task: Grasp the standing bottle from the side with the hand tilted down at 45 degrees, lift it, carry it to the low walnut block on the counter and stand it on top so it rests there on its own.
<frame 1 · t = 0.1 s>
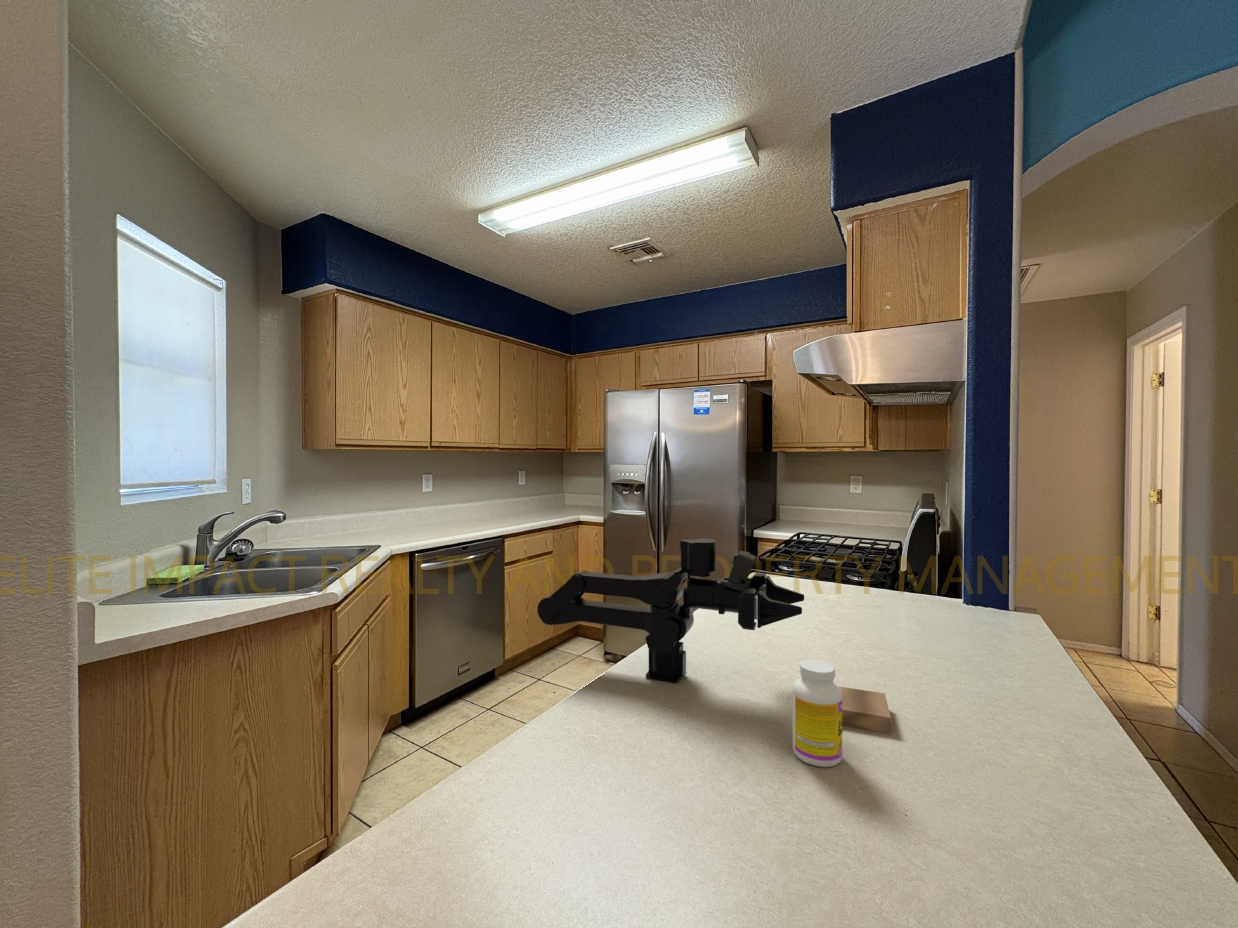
hand: (803, 603, 93), 17 cm above the countertop, tool horizontal, fingers open, 9 cm apart
supplement bottle: (817, 756, 75), on the countertop
walnut block: (857, 715, 86), on the countertop
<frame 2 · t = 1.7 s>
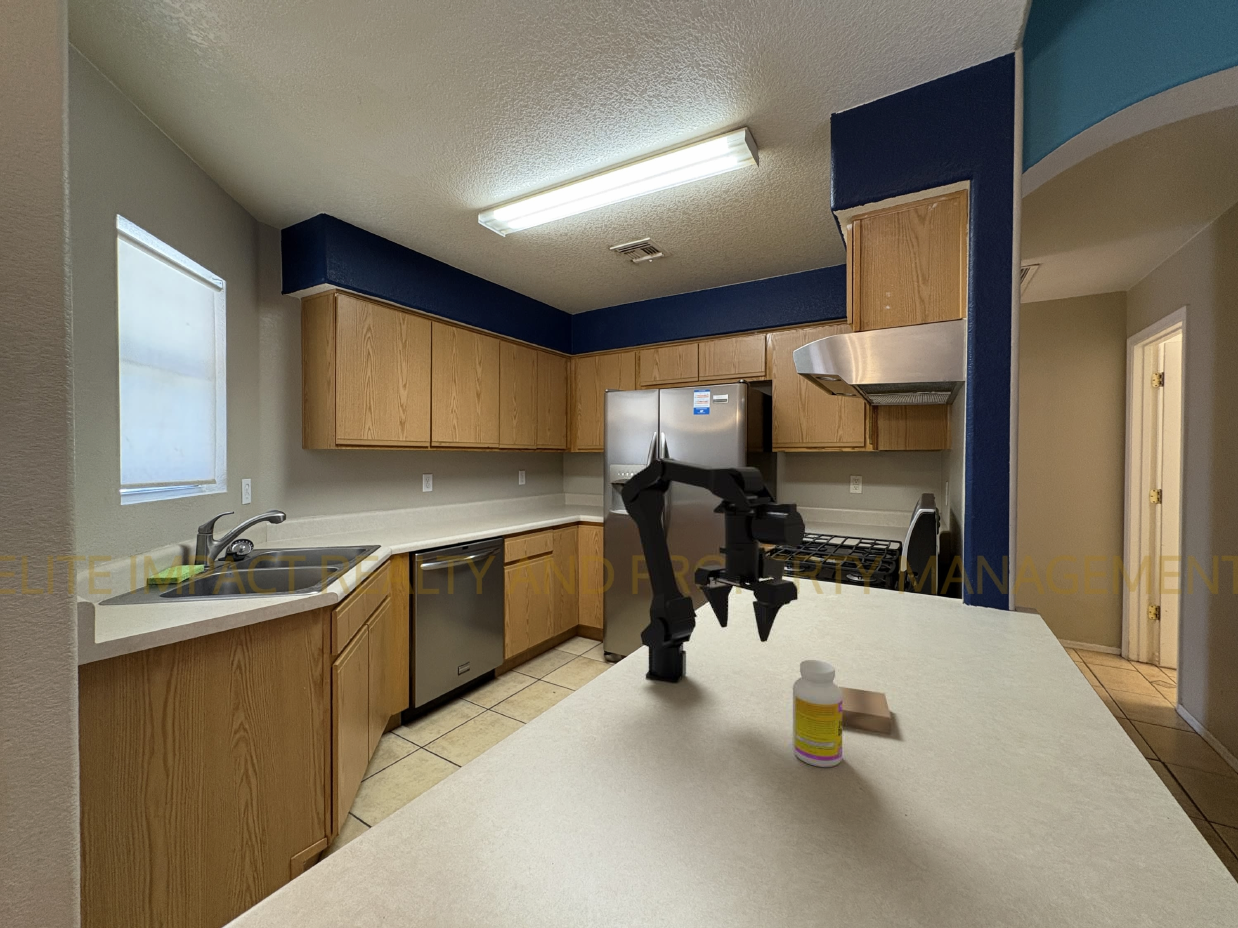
hand: (743, 633, 88), 13 cm above the countertop, tool pointing down, fingers open, 9 cm apart
nothing on the countertop moved.
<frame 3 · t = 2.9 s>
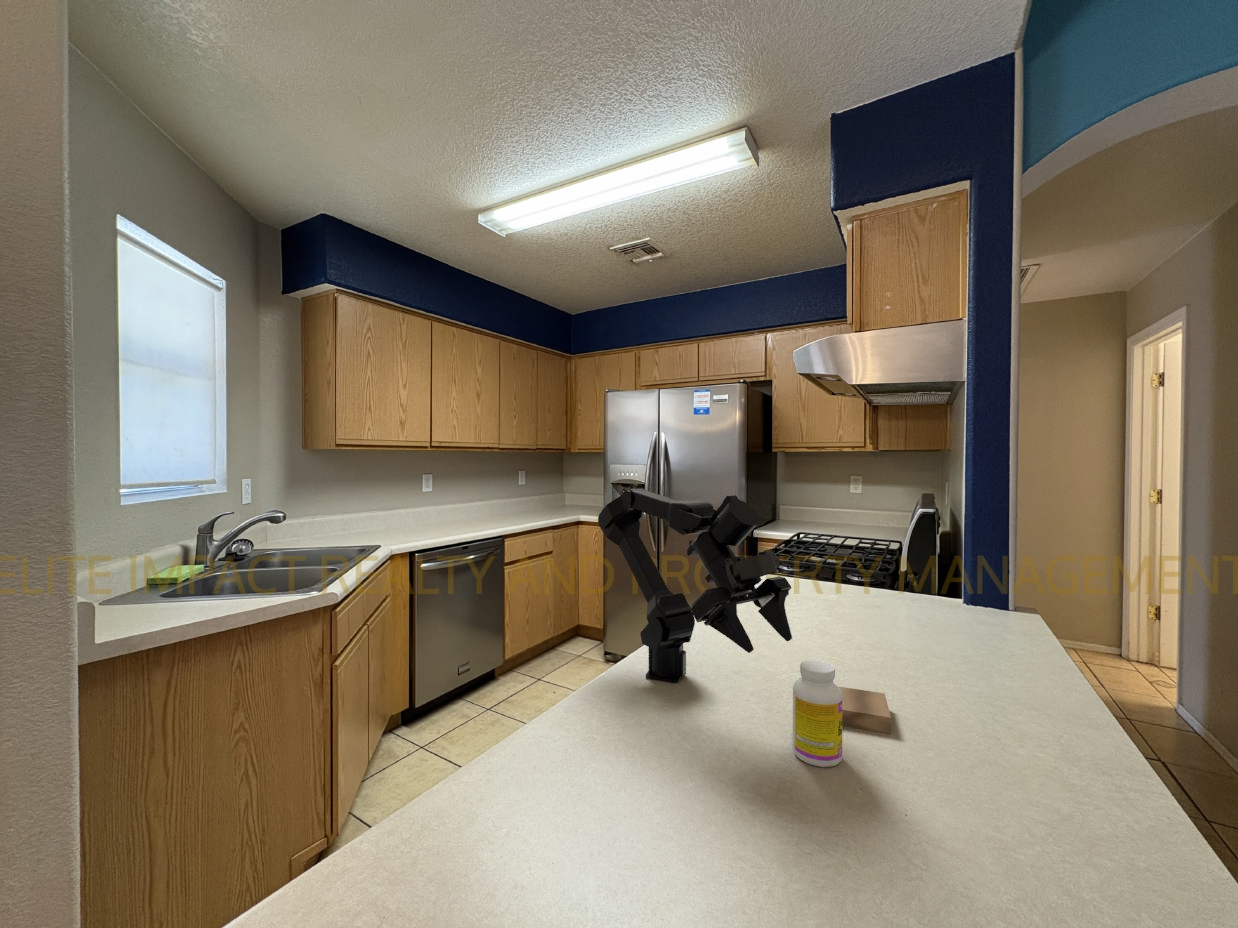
hand: (771, 645, 81), 13 cm above the countertop, tool tilted 45°, fingers open, 9 cm apart
nothing on the countertop moved.
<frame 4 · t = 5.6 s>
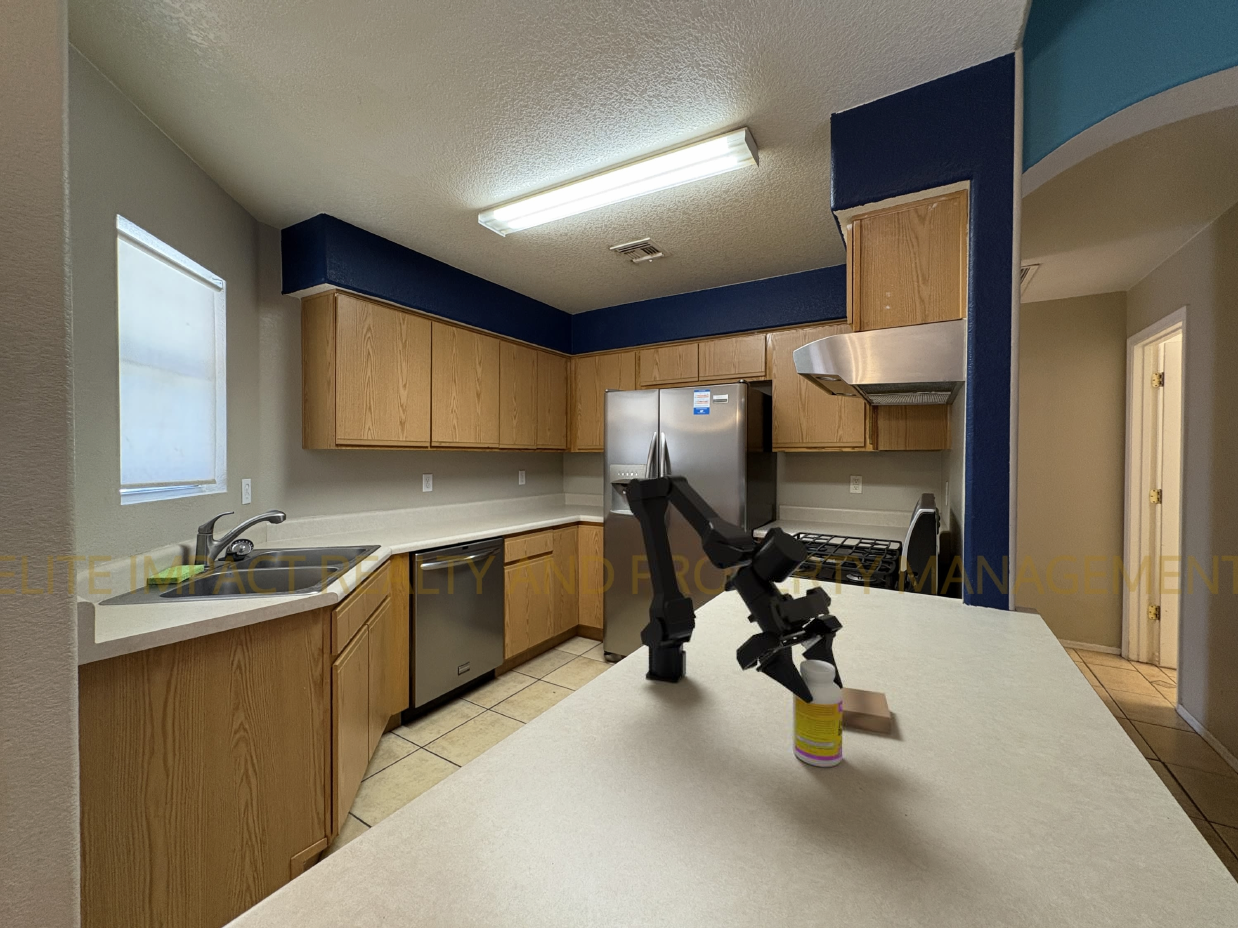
hand: (826, 695, 73), 9 cm above the countertop, tool tilted 45°, fingers closed on supplement bottle, 7 cm apart
supplement bottle: (817, 756, 75), on the countertop, touching gripper
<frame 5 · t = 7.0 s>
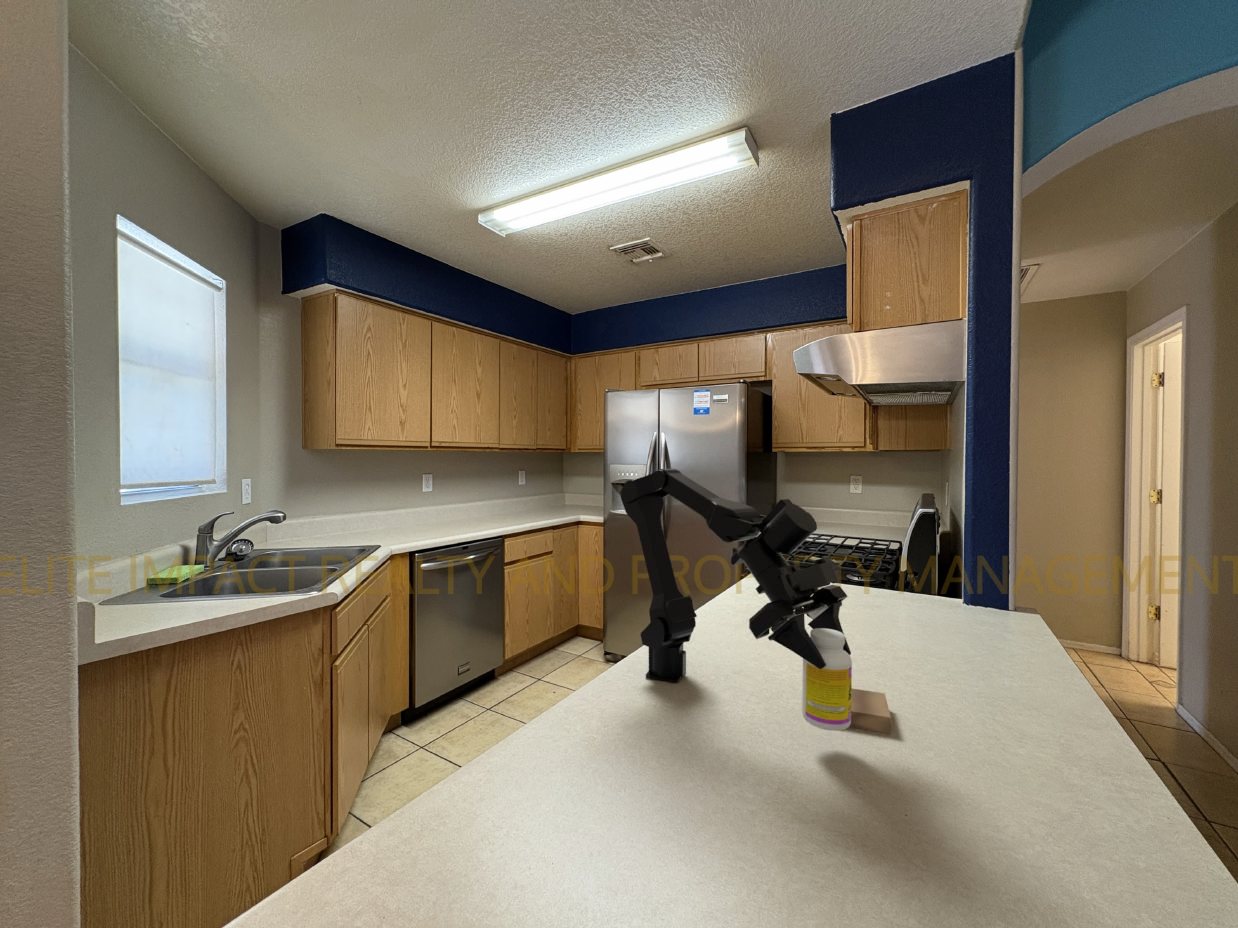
hand: (836, 661, 75), 13 cm above the countertop, tool tilted 45°, fingers closed on supplement bottle, 7 cm apart
supplement bottle: (826, 722, 76), point 4 cm above the countertop, touching gripper
when the fingers open (12 cm above the countertop, at t = 8.8 s): supplement bottle stays where it is, resting on walnut block.
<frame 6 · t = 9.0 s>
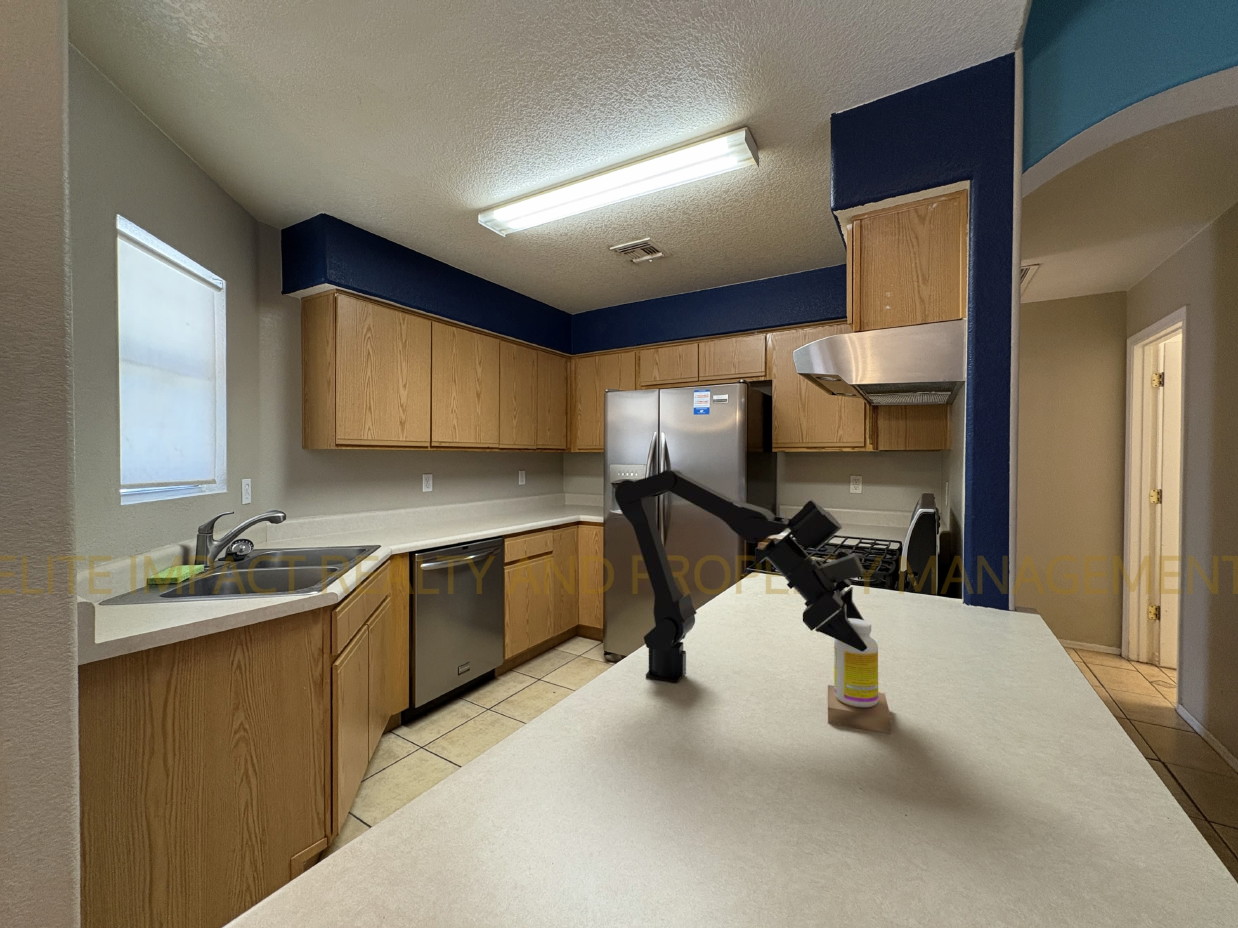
hand: (866, 640, 86), 13 cm above the countertop, tool tilted 45°, fingers open, 9 cm apart
supplement bottle: (855, 700, 86), point 2 cm above the countertop, touching walnut block
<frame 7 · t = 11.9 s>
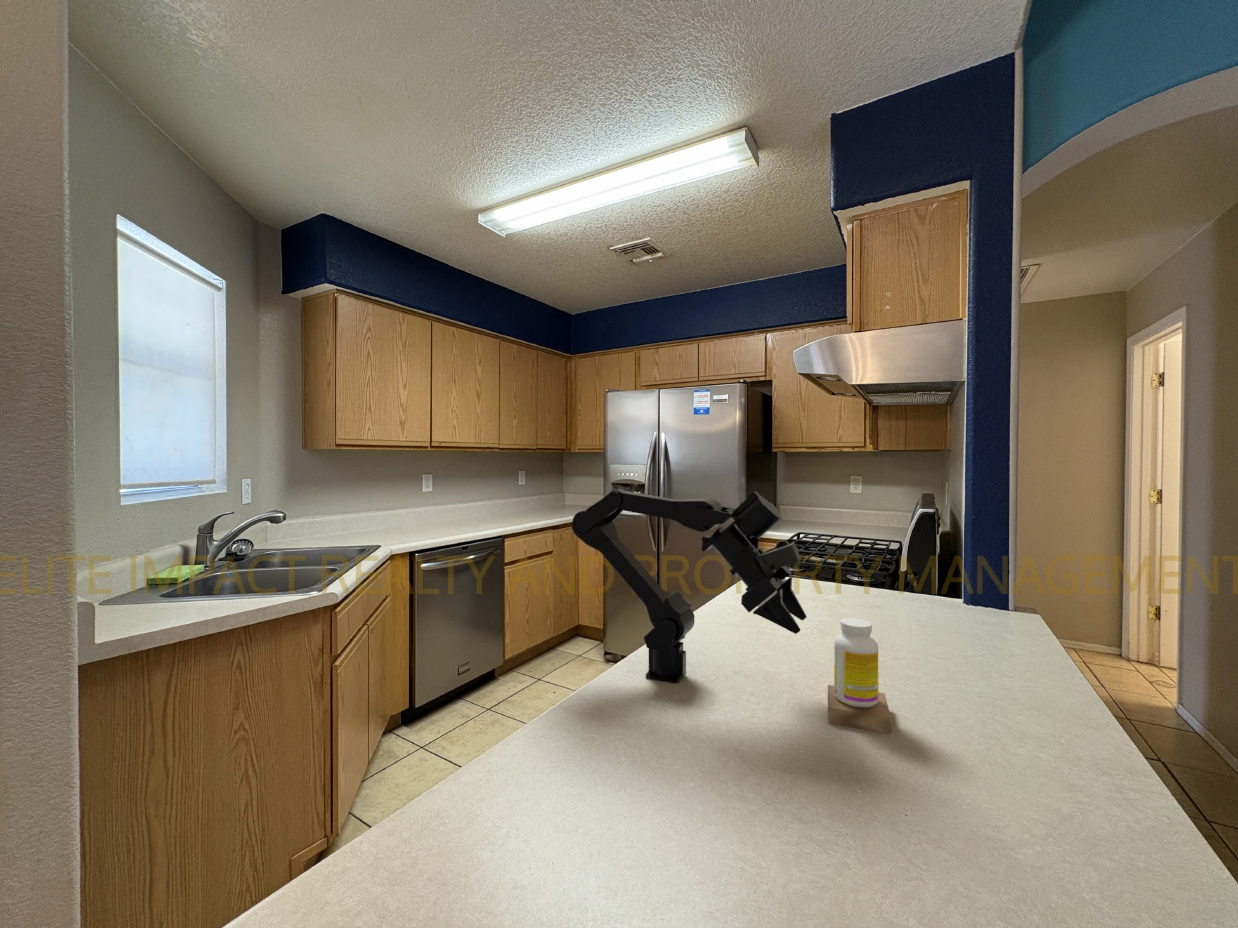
hand: (801, 625, 91), 13 cm above the countertop, tool tilted 45°, fingers open, 9 cm apart
nothing on the countertop moved.
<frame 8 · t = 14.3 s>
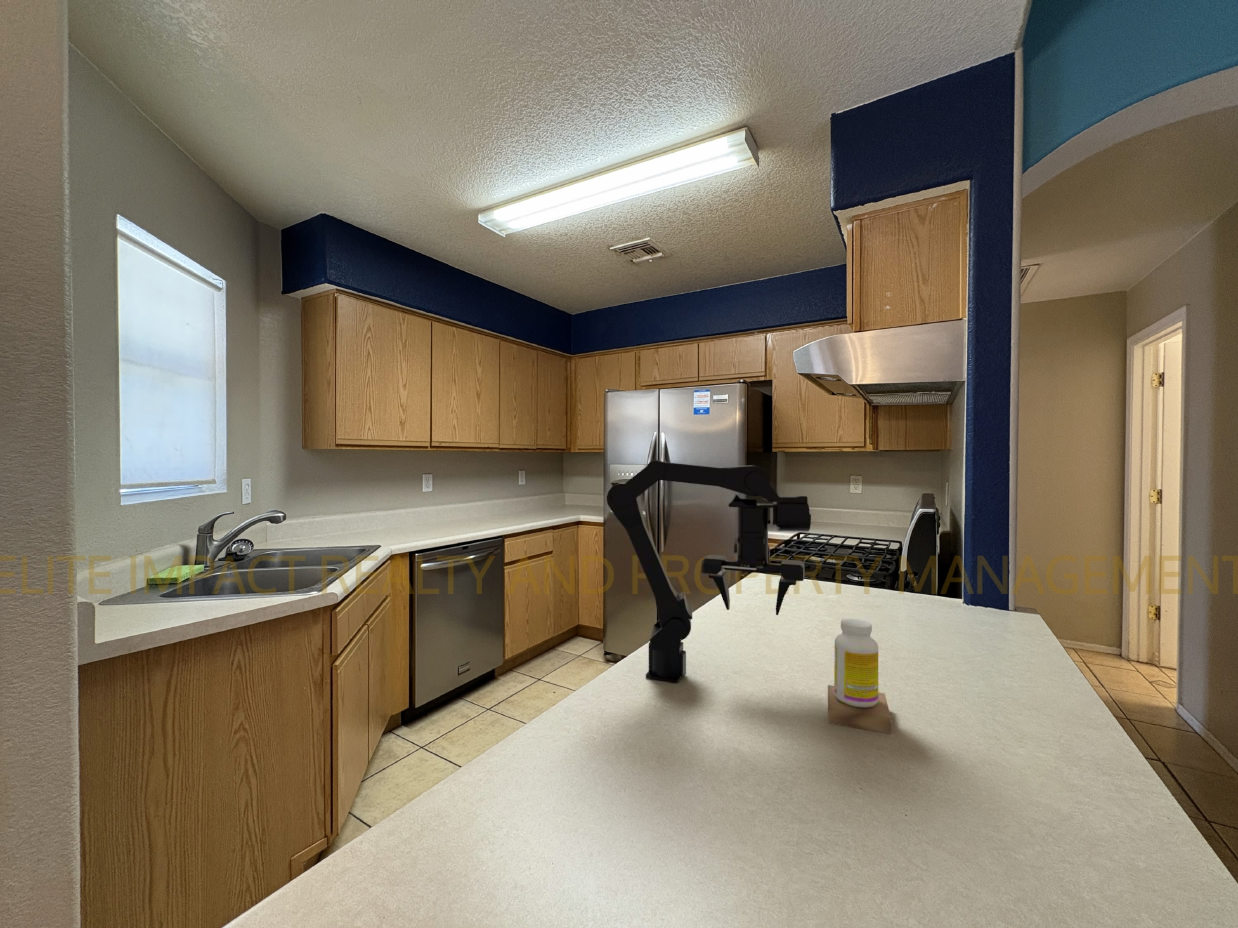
hand: (752, 611, 100), 13 cm above the countertop, tool pointing down, fingers open, 9 cm apart
nothing on the countertop moved.
at the end: supplement bottle inside the target area on the walnut block (0.2 cm from its centre), point 2.3 cm above the walnut block's base; supplement bottle tilted 0°; the gripper is holding nothing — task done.
